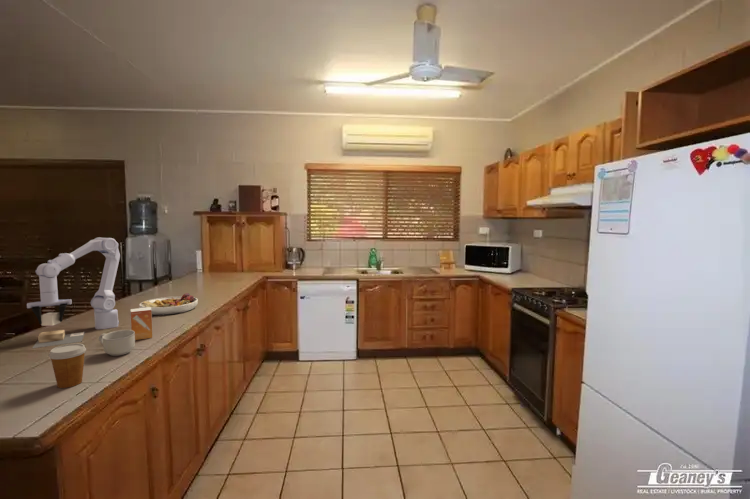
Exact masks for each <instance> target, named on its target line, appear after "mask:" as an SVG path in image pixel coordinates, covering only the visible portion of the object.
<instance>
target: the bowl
mask: <svg viewBox="0 0 750 499" xmlns="http://www.w3.org/2000/svg"><path fill="white" fill-rule="evenodd" d="M198 302H199V298H197V297H195V296H193V295H191V294H190V293H189V292H185V293H184V294H182V295H181V296H180V295H179V296H176V295H175V296H166V297H165V296H163V297H158V298H151V299H148V300H144V301H142V302H139V304H138V305H139V308H147V307H151V310H152V316H165V315H175V314H181V313H185V312H189V311H191V310H193V309H194V308H196V307H197V305H198Z"/></svg>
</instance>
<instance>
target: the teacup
mask: <svg viewBox="0 0 750 499" xmlns="http://www.w3.org/2000/svg"><path fill="white" fill-rule="evenodd" d="M98 341H99V342H100V344H101V345H103V346H102V347H103V351H104V352H105V353H106V354H107V355H109V356H112V357H119V356H125V355H127V354H129V353H130V352H131V351H132V350H133V349H134V348H135V347H136V346H135V344H136V340H135V332H134V331H133V330H131V329H119V330H114V331H111V332H108V333H105V332H104V333H101V334H100V335H99V336H98Z"/></svg>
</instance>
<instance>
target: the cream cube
mask: <svg viewBox="0 0 750 499" xmlns="http://www.w3.org/2000/svg"><path fill="white" fill-rule="evenodd" d="M61 323H62V322H60V312H46V313H44V314H41V324H40V325H41V326H42V327H43V326H47V327H48V326H55V325H59V324H61Z"/></svg>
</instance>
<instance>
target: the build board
mask: <svg viewBox="0 0 750 499" xmlns="http://www.w3.org/2000/svg"><path fill="white" fill-rule="evenodd" d="M85 335H86V331H83V332H75V333H74V332H72V333H67V334H66V333H65V337H64V339H63V340H58V341H50V342H43V343H39V340H37V341H36V342H35V343H34V344H33V346H32V349H37V348H38V349H39V348H44V347H45V348H46V347H52V346H62V345H68V344H77V343H81V342H82V341H83V339H84V338H85V337H84V336H85Z"/></svg>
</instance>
